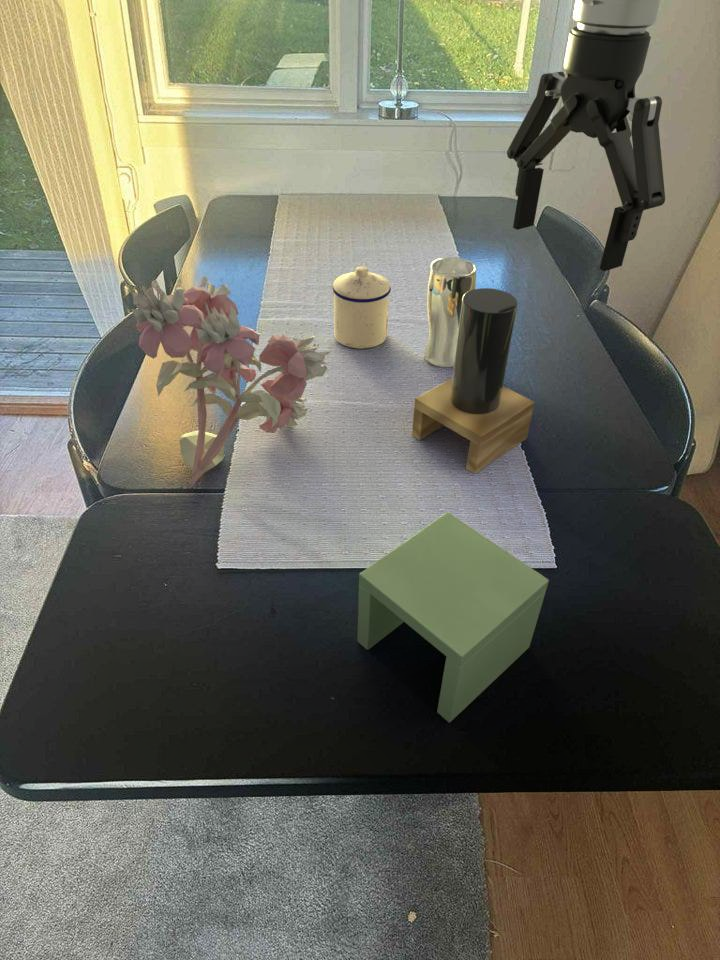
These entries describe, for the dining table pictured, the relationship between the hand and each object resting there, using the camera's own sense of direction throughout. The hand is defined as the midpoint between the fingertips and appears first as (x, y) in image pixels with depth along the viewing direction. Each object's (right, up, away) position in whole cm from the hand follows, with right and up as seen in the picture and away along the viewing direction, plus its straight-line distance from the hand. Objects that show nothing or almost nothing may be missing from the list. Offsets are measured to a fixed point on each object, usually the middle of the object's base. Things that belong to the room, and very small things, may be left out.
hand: (564, 246), depth 80 cm
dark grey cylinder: (-9, -16, +10) cm, 21 cm away
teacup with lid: (-24, -3, +35) cm, 43 cm away
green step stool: (-15, -43, -11) cm, 47 cm away
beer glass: (-10, -8, +30) cm, 33 cm away
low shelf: (-9, -21, +14) cm, 27 cm away
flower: (-38, -21, +13) cm, 46 cm away
